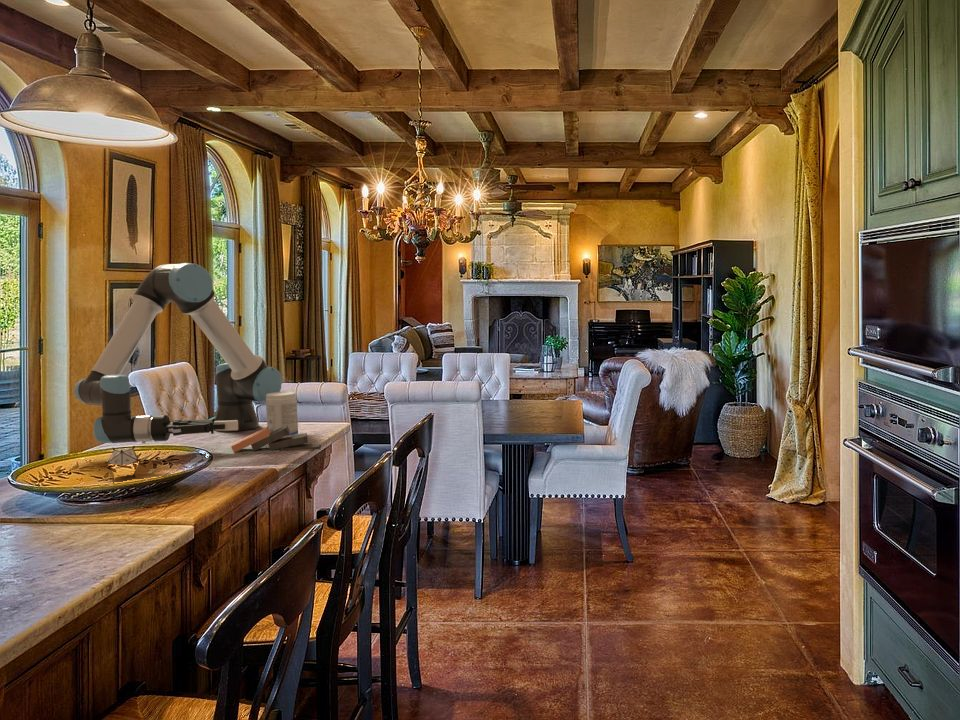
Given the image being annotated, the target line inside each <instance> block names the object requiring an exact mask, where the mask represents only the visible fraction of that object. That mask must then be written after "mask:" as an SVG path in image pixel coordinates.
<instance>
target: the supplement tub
mask: <svg viewBox="0 0 960 720" xmlns="http://www.w3.org/2000/svg"><path fill="white" fill-rule="evenodd" d="M297 400H298V399H297V395H296V392H295V391H280V392H273V393H268V394H266V402H265V408H266V409H265V410H266V424H267V425H266V427H269V429H270V431H271V432H273V431H275V430H277V429H279V428H281V427H283V426H285V425H287V426H288V428H289V430H290V433H289V434H288V435H286V436H284V437H289V436H294V435H298V434H299V422H298V401H297ZM284 437H282V438H284Z"/></svg>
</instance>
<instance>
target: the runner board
mask: <svg viewBox="0 0 960 720" xmlns="http://www.w3.org/2000/svg"><path fill="white" fill-rule="evenodd" d="M280 451H281V448H280V449H275V450H270V449H269V446H263V447H261V448H259V449H257V450H255V451H254V450H253V448H252V446H250V447H249V446H247V447H245V448H243V449H241V450H239V451H237V452H235V453H234V452H233V450H232V448H231V447H226V448H224V449H223V450H222V451H221V452H220V453H219V455H232V454H234V455H236V454H259V453H275V452H276V453H278V452H280Z"/></svg>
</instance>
